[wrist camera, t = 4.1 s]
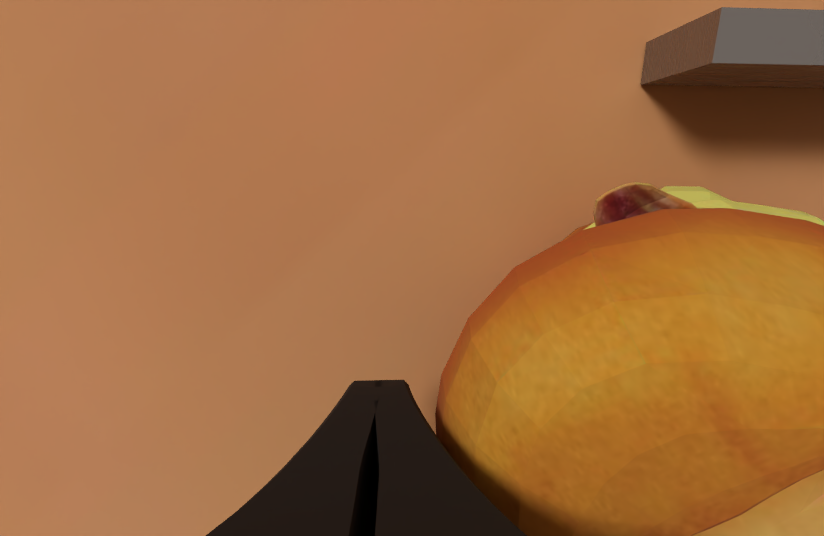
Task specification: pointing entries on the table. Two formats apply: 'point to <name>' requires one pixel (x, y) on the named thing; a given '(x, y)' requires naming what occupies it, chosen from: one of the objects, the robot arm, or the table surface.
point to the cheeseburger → (651, 374)
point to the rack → (741, 50)
